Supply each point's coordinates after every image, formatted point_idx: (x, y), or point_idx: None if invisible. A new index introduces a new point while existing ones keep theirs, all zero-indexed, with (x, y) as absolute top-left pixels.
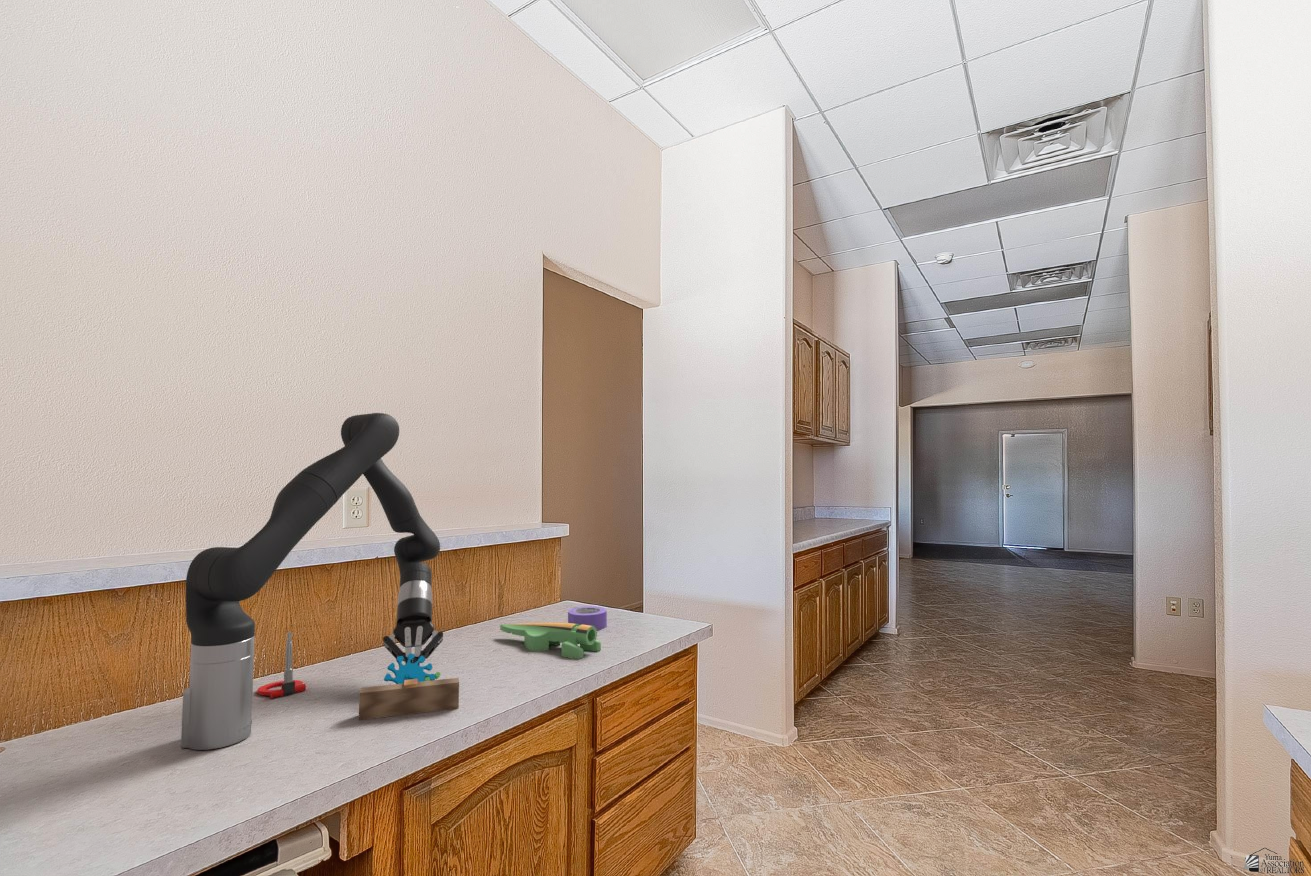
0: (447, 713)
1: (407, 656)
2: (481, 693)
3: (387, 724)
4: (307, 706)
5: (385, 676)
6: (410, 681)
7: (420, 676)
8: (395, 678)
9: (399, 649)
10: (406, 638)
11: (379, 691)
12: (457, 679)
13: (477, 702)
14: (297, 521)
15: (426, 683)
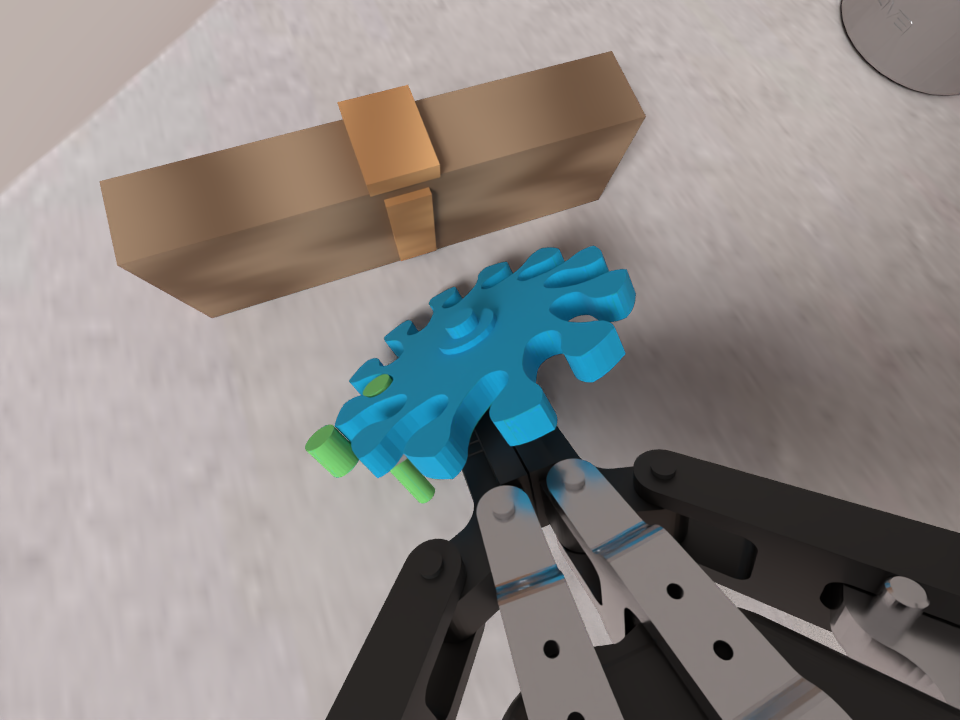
0: None
1: (574, 464)
2: (107, 450)
3: None
4: (862, 282)
5: (598, 250)
6: (393, 141)
7: (416, 368)
8: (541, 279)
9: (692, 496)
10: (726, 625)
11: (524, 74)
12: (120, 232)
13: (114, 322)
14: None
15: (305, 168)
